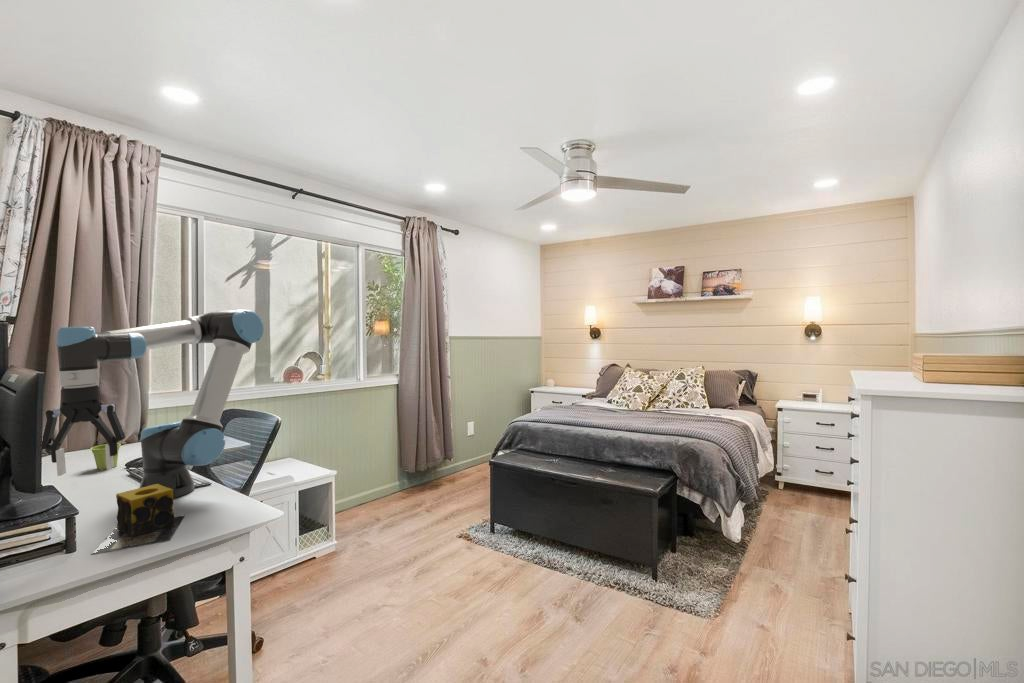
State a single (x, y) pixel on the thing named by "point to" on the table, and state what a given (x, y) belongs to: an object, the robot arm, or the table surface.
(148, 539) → the label plate
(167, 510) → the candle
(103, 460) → the plant pot
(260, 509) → the table surface
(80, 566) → the table surface
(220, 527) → the table surface
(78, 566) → the table surface
